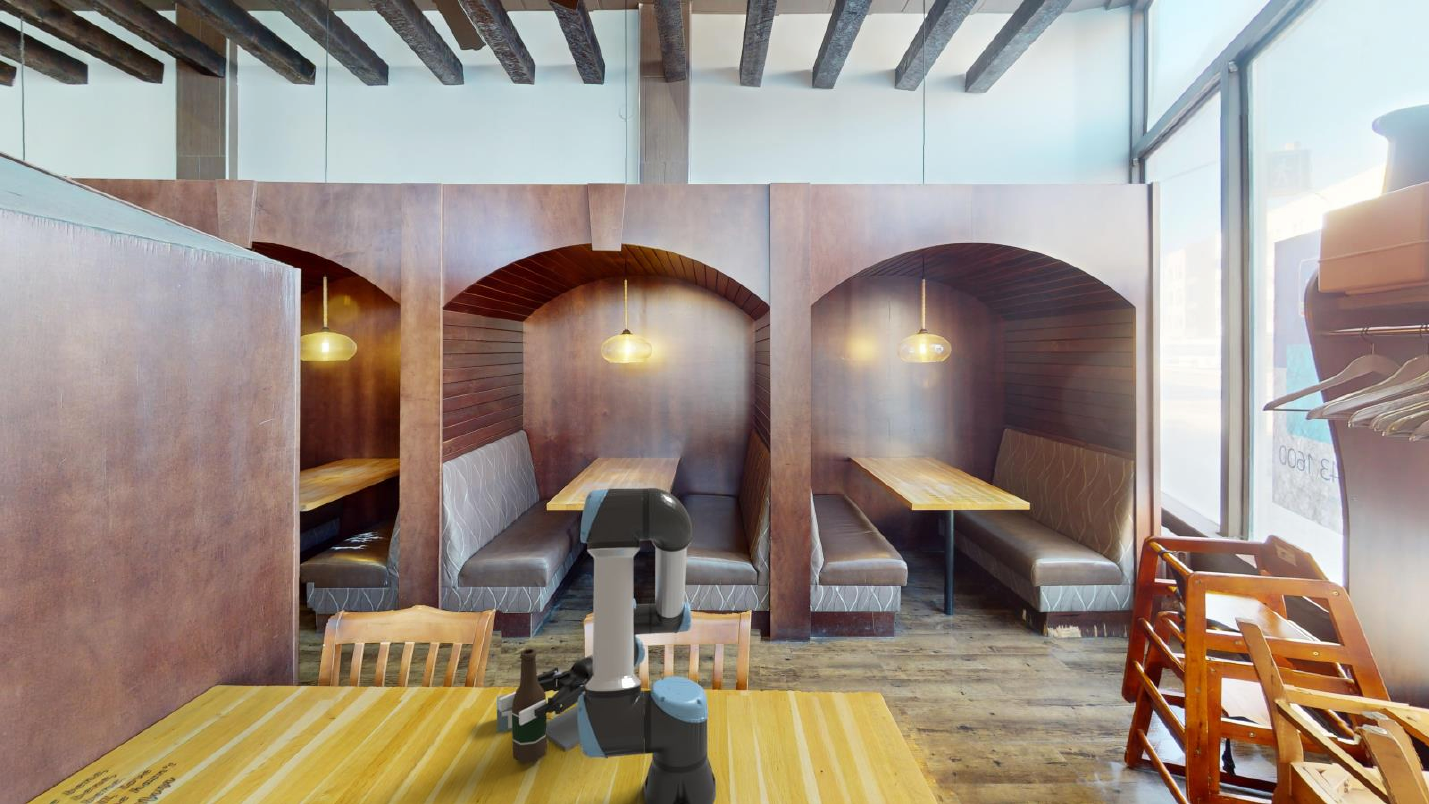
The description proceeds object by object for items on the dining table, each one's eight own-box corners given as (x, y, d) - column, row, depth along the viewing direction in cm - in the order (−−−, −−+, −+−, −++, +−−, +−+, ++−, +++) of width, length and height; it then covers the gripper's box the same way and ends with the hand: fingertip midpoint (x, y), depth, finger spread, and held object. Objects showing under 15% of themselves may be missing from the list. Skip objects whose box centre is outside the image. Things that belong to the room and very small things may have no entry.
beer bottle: (537, 766, 131) (535, 661, 129) (505, 762, 132) (503, 657, 131) (553, 745, 138) (552, 645, 137) (523, 740, 140) (521, 642, 139)
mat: (606, 726, 147) (606, 723, 147) (566, 750, 138) (566, 747, 138) (576, 708, 155) (576, 705, 155) (537, 730, 146) (536, 727, 146)
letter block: (497, 719, 151) (496, 696, 150) (522, 714, 153) (521, 692, 152) (497, 733, 145) (496, 710, 144) (523, 728, 147) (522, 705, 147)
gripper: (619, 700, 142) (536, 747, 125) (567, 672, 155) (486, 711, 138) (618, 670, 142) (535, 712, 124) (567, 645, 155) (485, 680, 137)
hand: (509, 711), depth 131 cm, fingers closed on beer bottle, 7 cm apart
